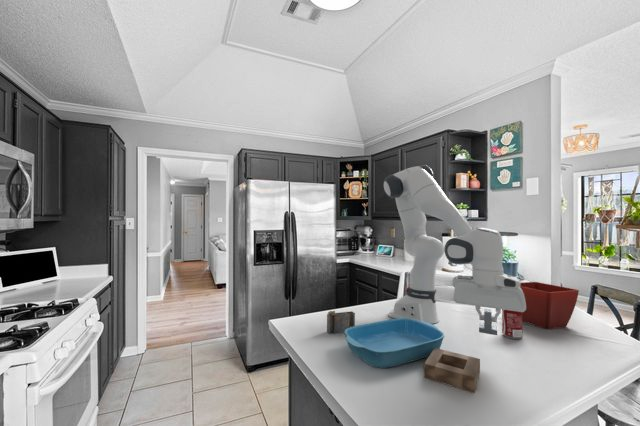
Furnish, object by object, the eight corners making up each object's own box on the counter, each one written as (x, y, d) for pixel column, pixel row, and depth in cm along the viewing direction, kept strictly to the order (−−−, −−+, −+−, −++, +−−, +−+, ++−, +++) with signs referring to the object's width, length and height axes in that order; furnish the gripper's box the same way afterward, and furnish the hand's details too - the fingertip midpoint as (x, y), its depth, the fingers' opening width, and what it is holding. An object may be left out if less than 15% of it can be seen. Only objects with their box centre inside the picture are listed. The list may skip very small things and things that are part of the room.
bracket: (479, 332, 92) (478, 311, 93) (479, 327, 97) (479, 307, 97) (497, 335, 90) (497, 314, 90) (497, 330, 94) (496, 310, 94)
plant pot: (535, 315, 143) (535, 281, 144) (580, 328, 125) (580, 289, 126) (507, 318, 137) (506, 283, 138) (550, 333, 119) (549, 292, 120)
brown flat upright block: (329, 335, 115) (329, 310, 115) (326, 332, 118) (327, 308, 118) (355, 332, 119) (355, 308, 119) (351, 329, 122) (352, 306, 122)
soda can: (525, 340, 111) (525, 309, 112) (506, 339, 113) (506, 308, 113) (517, 334, 118) (517, 304, 118) (499, 332, 119) (499, 303, 120)
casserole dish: (370, 380, 82) (370, 354, 83) (332, 349, 102) (332, 328, 103) (457, 354, 99) (457, 333, 99) (409, 332, 119) (410, 314, 119)
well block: (424, 377, 84) (424, 363, 84) (434, 360, 94) (434, 347, 95) (474, 393, 76) (474, 377, 77) (480, 372, 87) (480, 358, 87)
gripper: (451, 276, 97) (451, 317, 96) (526, 283, 86) (527, 330, 86) (453, 273, 102) (454, 312, 102) (524, 279, 91) (525, 323, 91)
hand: (488, 320), depth 94 cm, fingers closed on bracket
